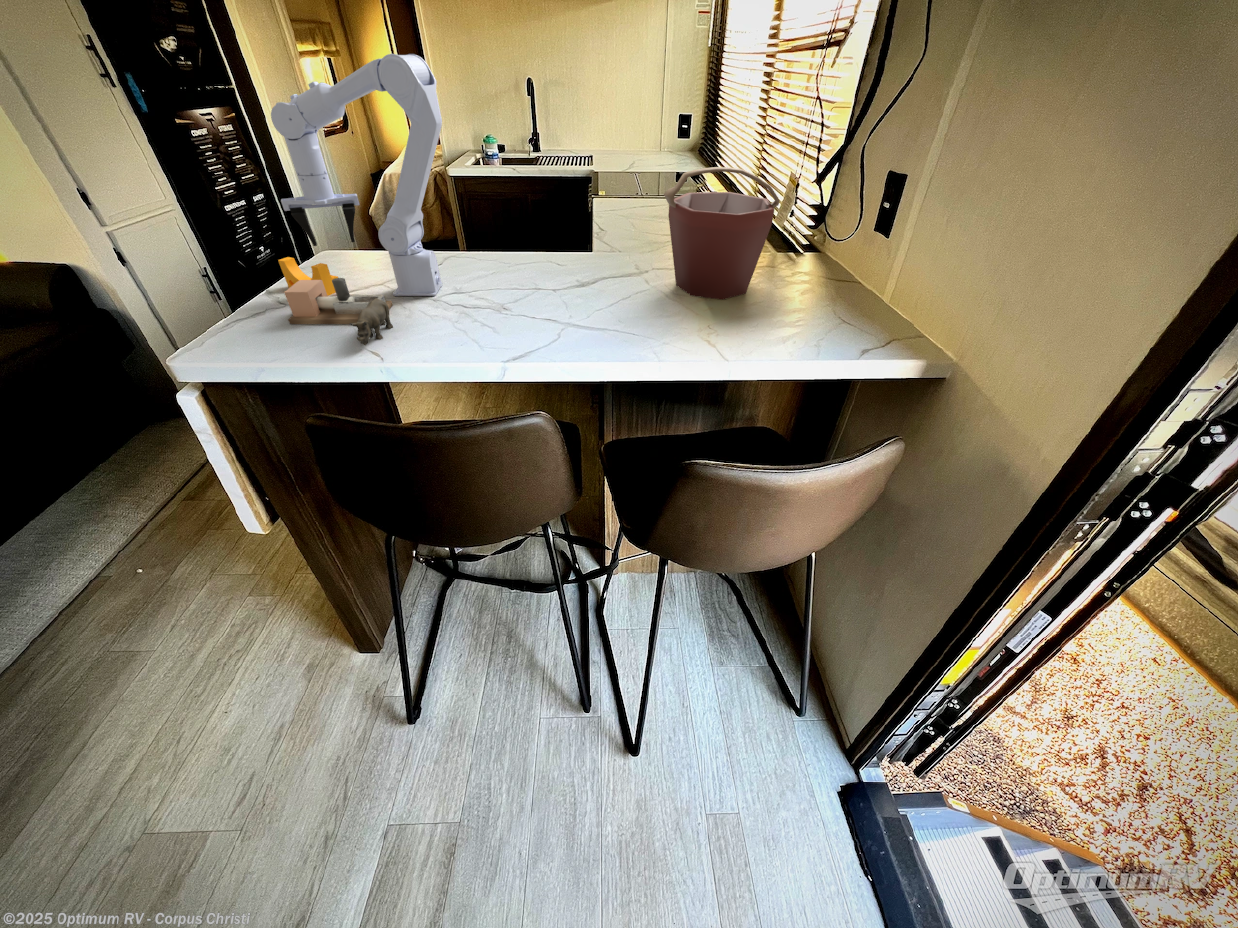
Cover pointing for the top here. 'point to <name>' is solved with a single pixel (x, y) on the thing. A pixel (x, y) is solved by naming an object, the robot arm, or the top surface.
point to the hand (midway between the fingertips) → (334, 243)
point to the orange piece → (295, 274)
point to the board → (328, 317)
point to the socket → (305, 297)
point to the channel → (355, 304)
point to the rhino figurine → (372, 320)
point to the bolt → (340, 291)
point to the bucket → (717, 236)
